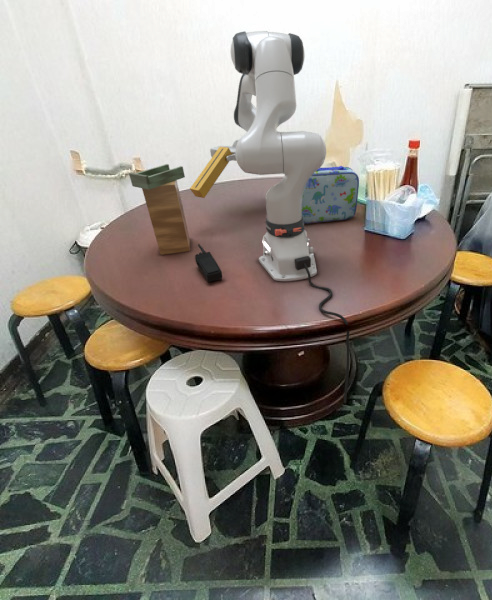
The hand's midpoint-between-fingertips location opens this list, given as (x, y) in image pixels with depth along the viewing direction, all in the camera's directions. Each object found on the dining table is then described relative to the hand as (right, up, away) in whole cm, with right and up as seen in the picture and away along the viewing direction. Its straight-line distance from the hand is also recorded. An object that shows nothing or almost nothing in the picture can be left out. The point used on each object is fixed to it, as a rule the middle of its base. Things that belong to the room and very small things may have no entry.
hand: (220, 158), depth 135 cm
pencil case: (-2, -7, 0) cm, 7 cm away
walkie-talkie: (0, -45, -21) cm, 49 cm away
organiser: (-15, -35, -7) cm, 39 cm away
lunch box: (+41, -21, +12) cm, 48 cm away
